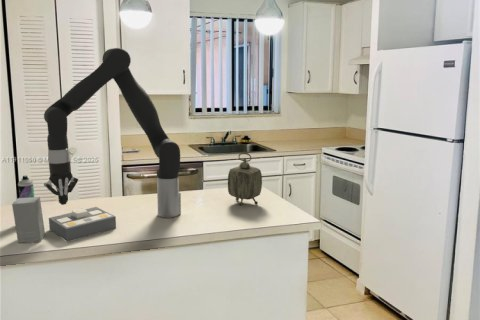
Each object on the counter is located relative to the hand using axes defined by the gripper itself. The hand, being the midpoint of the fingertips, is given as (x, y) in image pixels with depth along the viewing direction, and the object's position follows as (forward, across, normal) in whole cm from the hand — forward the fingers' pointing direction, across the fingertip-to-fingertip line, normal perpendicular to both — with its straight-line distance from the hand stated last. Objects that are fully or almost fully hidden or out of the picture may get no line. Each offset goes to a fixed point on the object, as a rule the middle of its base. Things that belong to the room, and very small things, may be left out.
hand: (63, 204), depth 169 cm
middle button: (+7, +6, 0) cm, 10 cm away
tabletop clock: (+13, +76, -23) cm, 81 cm away
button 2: (+10, +13, 0) cm, 16 cm away
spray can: (+11, -7, +19) cm, 23 cm away
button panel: (+12, +6, -2) cm, 13 cm away
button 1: (+9, 0, 0) cm, 9 cm away
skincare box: (+11, -13, +1) cm, 17 cm away
